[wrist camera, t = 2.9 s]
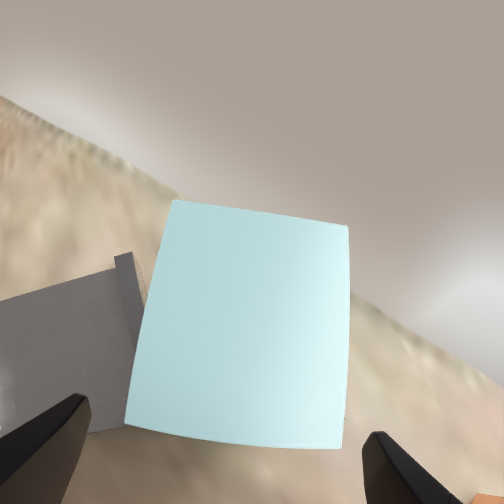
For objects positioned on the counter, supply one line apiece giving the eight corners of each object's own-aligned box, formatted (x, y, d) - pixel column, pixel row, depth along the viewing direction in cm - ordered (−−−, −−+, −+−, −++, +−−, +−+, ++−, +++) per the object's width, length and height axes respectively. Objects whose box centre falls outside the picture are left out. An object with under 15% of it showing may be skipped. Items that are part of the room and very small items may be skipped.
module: (269, 421, 18) (352, 448, 6) (183, 410, 18) (124, 423, 6) (278, 330, 21) (357, 228, 9) (197, 318, 20) (173, 199, 9)
